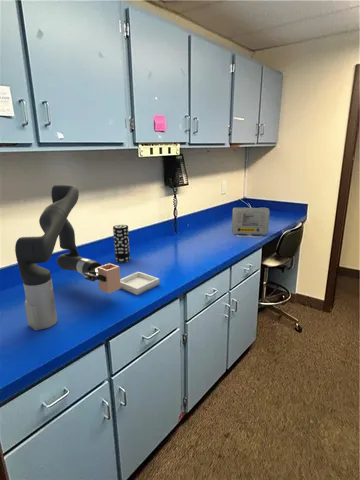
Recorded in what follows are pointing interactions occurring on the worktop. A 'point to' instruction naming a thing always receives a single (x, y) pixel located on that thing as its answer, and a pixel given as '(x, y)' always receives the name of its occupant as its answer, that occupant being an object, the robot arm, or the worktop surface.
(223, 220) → the worktop surface
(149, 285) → the tray
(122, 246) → the white-spotted black cylinder
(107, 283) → the cup
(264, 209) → the network device
